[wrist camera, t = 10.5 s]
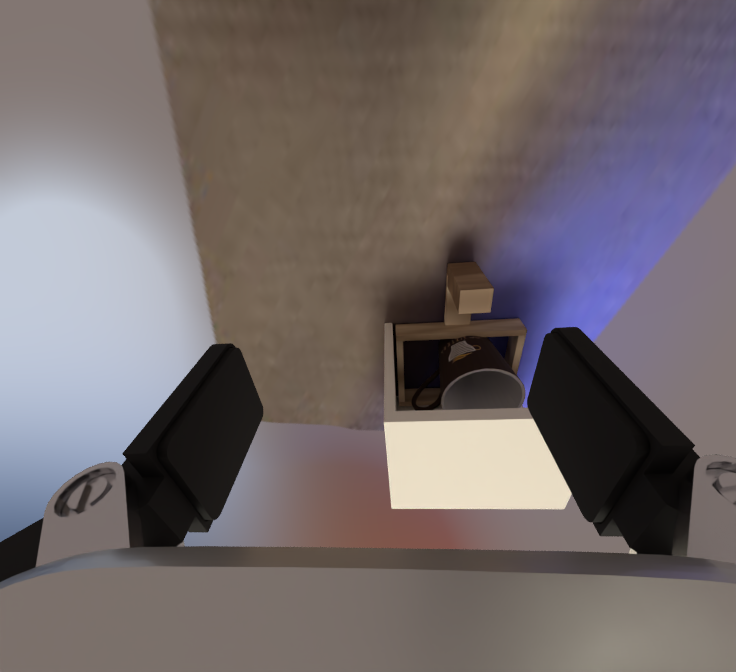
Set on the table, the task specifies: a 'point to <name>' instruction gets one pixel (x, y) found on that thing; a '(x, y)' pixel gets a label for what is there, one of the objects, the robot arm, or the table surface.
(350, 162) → the table surface
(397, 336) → the wooden drawer
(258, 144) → the table surface
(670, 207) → the table surface
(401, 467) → the cream open box
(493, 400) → the coffee mug
